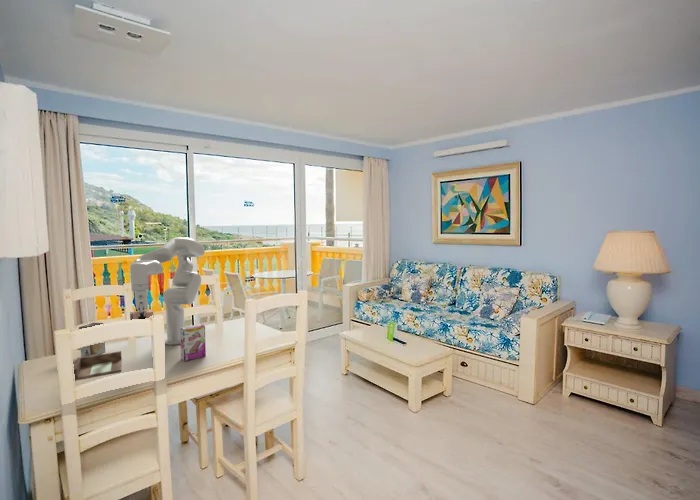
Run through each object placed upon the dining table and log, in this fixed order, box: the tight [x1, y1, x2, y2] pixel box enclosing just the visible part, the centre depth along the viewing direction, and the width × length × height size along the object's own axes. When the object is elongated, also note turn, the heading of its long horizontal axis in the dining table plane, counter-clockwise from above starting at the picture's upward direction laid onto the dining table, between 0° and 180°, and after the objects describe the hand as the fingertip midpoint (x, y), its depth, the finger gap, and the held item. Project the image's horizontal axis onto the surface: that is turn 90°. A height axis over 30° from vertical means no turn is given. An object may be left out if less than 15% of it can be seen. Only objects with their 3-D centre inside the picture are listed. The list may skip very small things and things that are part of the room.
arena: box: [73, 350, 123, 381], centre depth 177 cm, size 18×16×5 cm
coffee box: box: [78, 322, 106, 358], centre depth 196 cm, size 9×6×16 cm
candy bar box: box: [180, 323, 207, 362], centre depth 191 cm, size 11×5×16 cm, turn 134°
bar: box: [129, 309, 154, 320], centre depth 188 cm, size 10×5×6 cm, turn 120°
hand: (142, 322), depth 188 cm, fingers closed on bar, 5 cm apart
